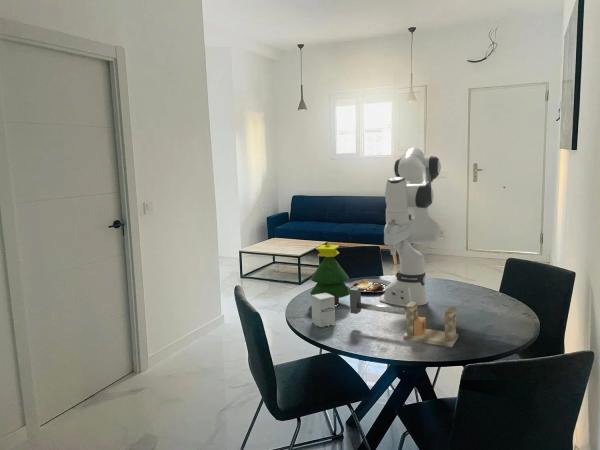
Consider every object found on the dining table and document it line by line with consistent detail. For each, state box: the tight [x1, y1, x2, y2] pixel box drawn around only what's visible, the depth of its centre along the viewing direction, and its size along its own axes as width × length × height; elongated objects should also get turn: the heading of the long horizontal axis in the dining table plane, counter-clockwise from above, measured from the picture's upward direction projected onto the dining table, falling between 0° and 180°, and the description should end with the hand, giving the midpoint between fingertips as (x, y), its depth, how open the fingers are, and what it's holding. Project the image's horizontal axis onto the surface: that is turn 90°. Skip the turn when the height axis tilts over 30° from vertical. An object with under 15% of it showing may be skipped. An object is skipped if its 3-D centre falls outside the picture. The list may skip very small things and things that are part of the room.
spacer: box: [414, 316, 427, 336], centre depth 179 cm, size 3×5×5 cm, turn 149°
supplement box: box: [310, 293, 336, 328], centre depth 196 cm, size 7×7×13 cm
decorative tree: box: [310, 243, 350, 305], centre depth 220 cm, size 19×19×30 cm
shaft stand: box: [403, 302, 459, 348], centre depth 177 cm, size 18×10×12 cm, turn 59°
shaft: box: [349, 287, 406, 316], centre depth 187 cm, size 22×4×10 cm, turn 59°
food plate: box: [346, 278, 393, 293], centre depth 245 cm, size 25×23×4 cm
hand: (397, 252), depth 189 cm, fingers open, 8 cm apart
